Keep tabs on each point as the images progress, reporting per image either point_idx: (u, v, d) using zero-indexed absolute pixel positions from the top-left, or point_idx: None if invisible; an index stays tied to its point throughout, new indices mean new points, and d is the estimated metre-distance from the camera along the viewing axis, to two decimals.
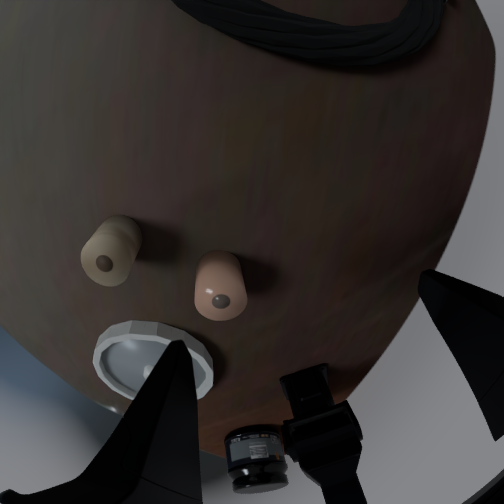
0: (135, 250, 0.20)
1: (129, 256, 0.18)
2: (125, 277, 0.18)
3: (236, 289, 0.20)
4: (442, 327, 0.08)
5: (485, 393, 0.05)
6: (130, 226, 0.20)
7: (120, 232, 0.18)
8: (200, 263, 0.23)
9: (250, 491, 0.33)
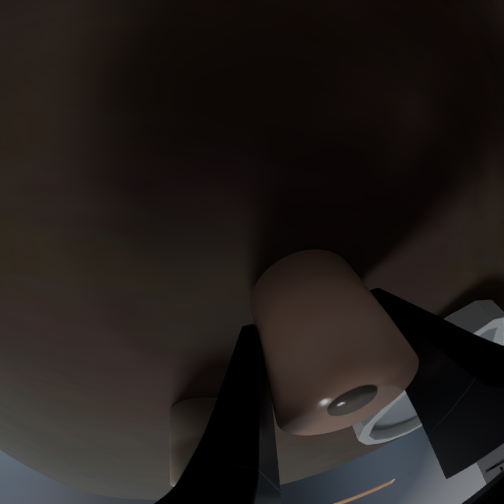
0: None
1: None
2: None
3: (329, 381, 0.05)
4: None
5: (434, 429, 0.05)
6: (179, 420, 0.11)
7: (174, 451, 0.10)
8: None
9: None
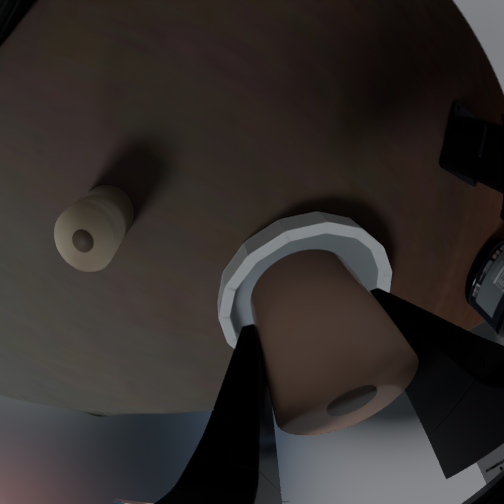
0: (104, 198, 0.14)
1: (89, 205, 0.12)
2: (107, 227, 0.13)
3: (328, 381, 0.05)
4: None
5: (434, 429, 0.05)
6: (90, 191, 0.15)
7: (75, 202, 0.13)
8: None
9: None
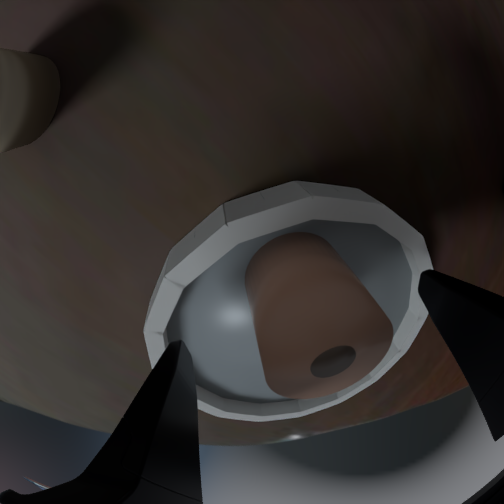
0: (16, 53, 0.04)
1: None
2: None
3: (308, 336, 0.06)
4: (442, 327, 0.08)
5: (485, 393, 0.05)
6: None
7: None
8: None
9: None
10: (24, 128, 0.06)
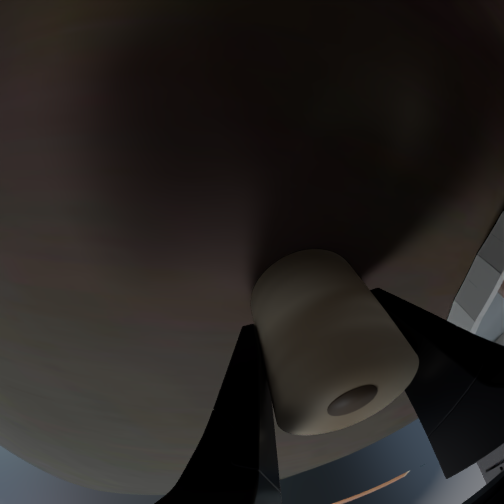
0: (352, 295, 0.07)
1: (368, 338, 0.05)
2: (413, 357, 0.05)
3: None
4: None
5: (433, 430, 0.05)
6: (283, 283, 0.08)
7: (286, 333, 0.06)
8: None
9: None
10: None
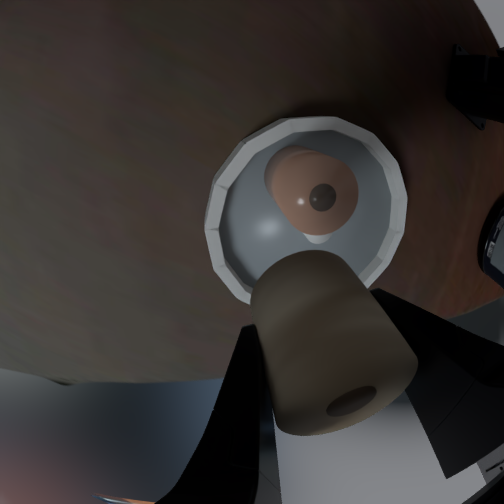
0: (351, 296, 0.07)
1: (367, 339, 0.05)
2: (412, 358, 0.05)
3: (300, 176, 0.12)
4: None
5: (434, 429, 0.05)
6: (283, 284, 0.08)
7: (285, 333, 0.06)
8: None
9: None
10: None
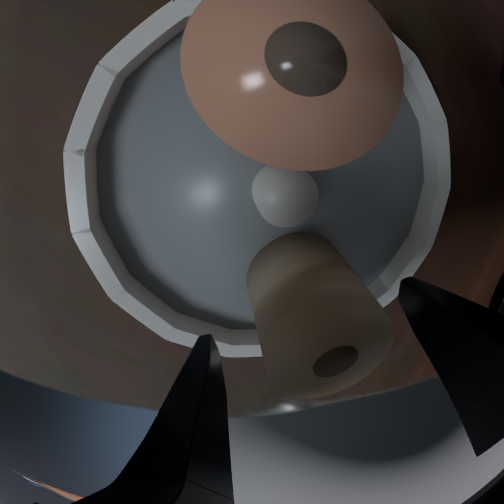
0: (332, 267, 0.08)
1: (343, 300, 0.07)
2: (388, 321, 0.07)
3: None
4: (422, 337, 0.08)
5: (466, 408, 0.05)
6: (274, 259, 0.09)
7: (275, 298, 0.08)
8: None
9: None
10: None
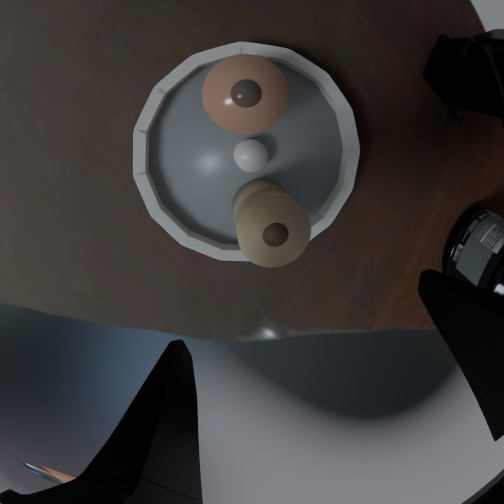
0: (274, 188, 0.15)
1: (274, 196, 0.14)
2: (301, 211, 0.14)
3: (225, 68, 0.10)
4: (442, 327, 0.08)
5: (485, 394, 0.05)
6: (245, 189, 0.17)
7: (243, 203, 0.15)
8: None
9: None
10: None
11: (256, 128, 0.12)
